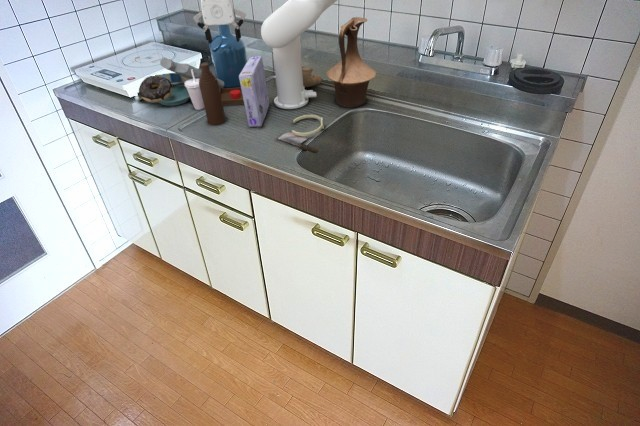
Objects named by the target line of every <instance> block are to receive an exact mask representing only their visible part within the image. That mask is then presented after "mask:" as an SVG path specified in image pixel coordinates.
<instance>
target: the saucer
mask: <svg viewBox="0 0 640 426" xmlns="http://www.w3.org/2000/svg"><path fill="white" fill-rule="evenodd" d="M189 100H191V98H190V95H189V93H188V90H187V88H186V87H185V85H181V86H173V89H172V93H171V95H170V96H169V97H168V98H167V99H165V100H163V101H160V102H158V104H161V105H163V106H167V107H168V106H169V107H173V106H174V107H175V106H179V105H182V104H185V103H186V102H188V101H189Z"/></svg>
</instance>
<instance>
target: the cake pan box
mask: <svg viewBox="0 0 640 426" xmlns="http://www.w3.org/2000/svg"><path fill="white" fill-rule="evenodd" d="M265 72H266V71H265V67H264V60H263V56H262V55H258V56H250V57H249V58H248V59H247V63H246V65H245V66H244V68H243V70H242V72H241V73H240V75H239V80H240V85H241V86H240V87H241V90H242V95H243V100H244V104H243V105H244V109H245V114H246V119H247V124H248V127H249V128H251V127H252V128H262V127H263V123H264V121H265V119H266V117H267V113H268V110H269V107H270V100H269V98H270V97H269V92H268V91H269V90H268V86H267V80H266V73H265Z"/></svg>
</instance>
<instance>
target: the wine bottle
mask: <svg viewBox="0 0 640 426" xmlns="http://www.w3.org/2000/svg"><path fill="white" fill-rule="evenodd" d="M217 30H218V34H217V35H215V36H214V37H212V42H211V43H210V44H209V50H210V56H211V61H212V65H213V70H214V74H215V75H214V76H215V77H216V78H218V79H220V80H222V81H223V82H224V87H223V88H238V87H241V85H240V80H239V75H240V73H241V72H242V70H243V68H244V66H245V65H246V63H247V61H248V59H247V51H246V45H245V42H244V41H243V39H242V38H240V40H239V42H237V40H236V34H233V33H232V31H231V27H230V24H229V25H217Z"/></svg>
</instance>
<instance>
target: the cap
mask: <svg viewBox="0 0 640 426" xmlns="http://www.w3.org/2000/svg"><path fill="white" fill-rule="evenodd" d="M230 96H231V98H232V99H237V98H240V97H241V92H240V90H232V91H230Z"/></svg>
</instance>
